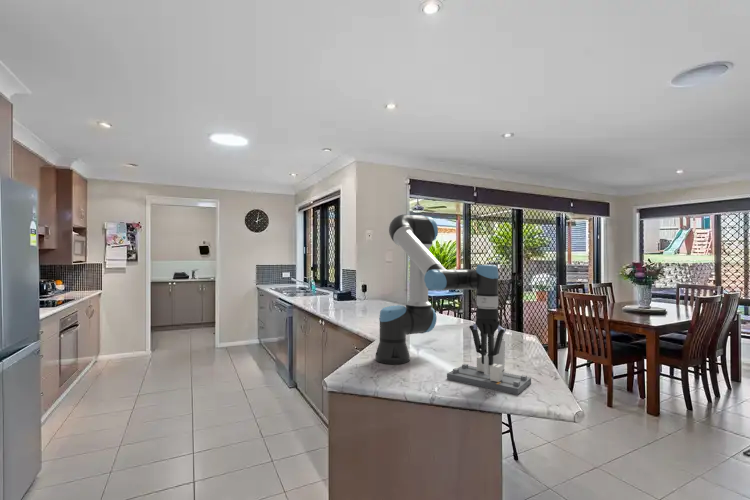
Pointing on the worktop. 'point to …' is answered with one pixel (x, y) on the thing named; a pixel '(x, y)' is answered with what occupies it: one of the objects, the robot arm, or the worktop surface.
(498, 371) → the fader near
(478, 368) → the fader far
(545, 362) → the worktop surface
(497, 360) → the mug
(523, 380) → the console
